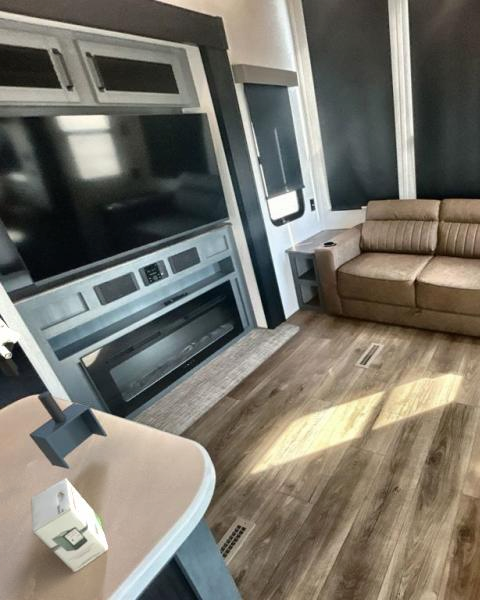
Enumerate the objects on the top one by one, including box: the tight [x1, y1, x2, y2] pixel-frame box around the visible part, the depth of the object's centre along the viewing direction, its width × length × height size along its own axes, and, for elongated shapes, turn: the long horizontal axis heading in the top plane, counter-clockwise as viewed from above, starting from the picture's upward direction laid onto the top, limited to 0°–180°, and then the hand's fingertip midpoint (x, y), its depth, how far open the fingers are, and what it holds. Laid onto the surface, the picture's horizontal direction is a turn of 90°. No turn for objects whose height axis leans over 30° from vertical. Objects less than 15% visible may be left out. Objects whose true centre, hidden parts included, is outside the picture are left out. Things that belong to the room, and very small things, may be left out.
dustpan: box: [29, 391, 108, 470], centre depth 75 cm, size 16×9×4 cm
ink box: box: [30, 477, 109, 573], centre depth 60 cm, size 9×5×12 cm, turn 45°
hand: (3, 380), depth 73 cm, fingers closed
